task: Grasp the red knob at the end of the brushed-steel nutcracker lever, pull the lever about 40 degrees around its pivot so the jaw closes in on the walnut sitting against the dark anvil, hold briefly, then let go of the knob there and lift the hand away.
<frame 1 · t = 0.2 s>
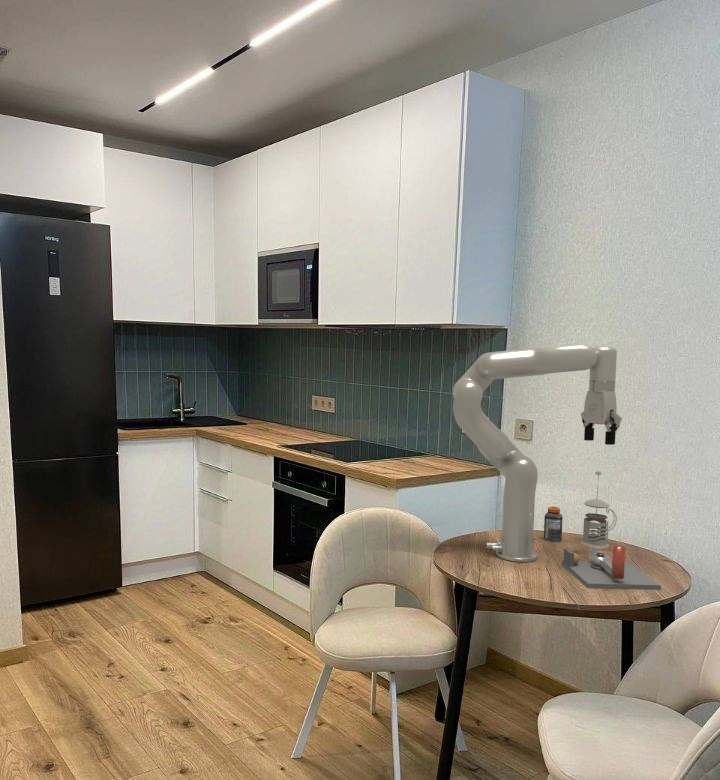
hand: (599, 442, 196), 37 cm above the table, tool pointing down, fingers open, 9 cm apart
pill bottle: (552, 540, 219), on the table
lever: (606, 553, 182), point 7 cm above the table, hinge at 0.0°
french press: (597, 544, 215), on the table
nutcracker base: (608, 576, 182), on the table
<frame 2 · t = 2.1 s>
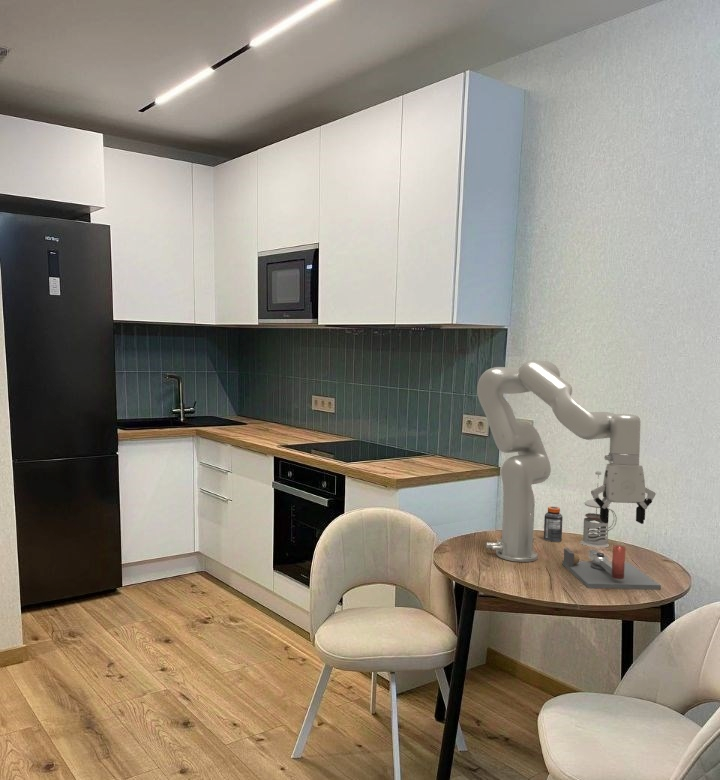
hand: (622, 522, 173), 18 cm above the table, tool pointing down, fingers open, 9 cm apart
nothing on the table moved.
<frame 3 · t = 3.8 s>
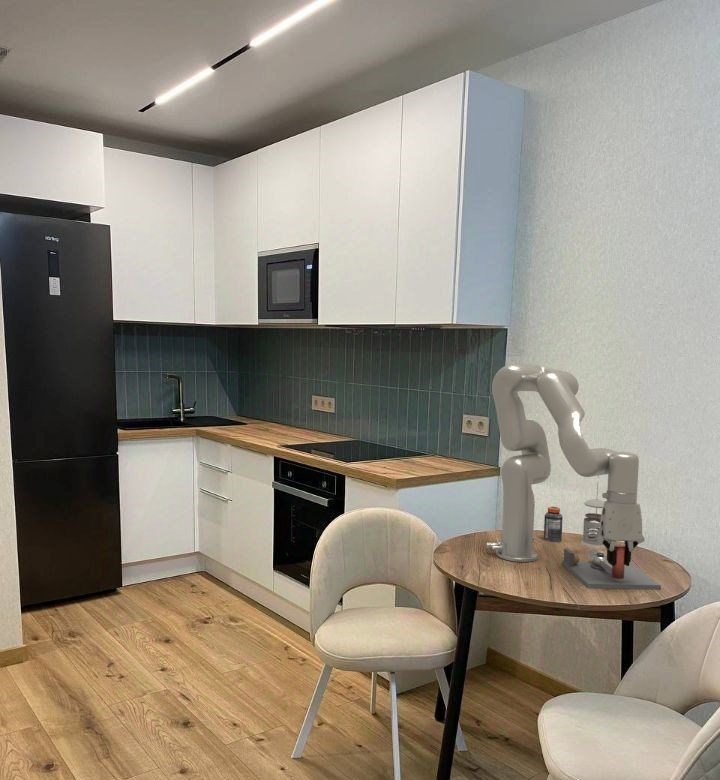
hand: (618, 563, 174), 6 cm above the table, tool pointing down, fingers closed on lever, 3 cm apart
lever: (606, 553, 182), point 7 cm above the table, hinge at 0.0°, touching gripper
everything else where it was.
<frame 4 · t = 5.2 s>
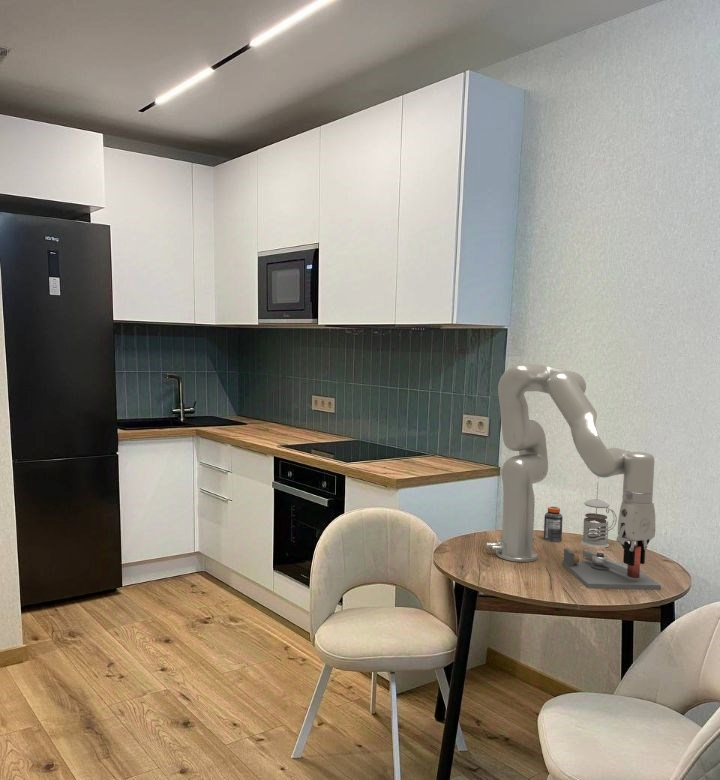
hand: (633, 562, 175), 6 cm above the table, tool pointing down, fingers closed on lever, 3 cm apart
lever: (611, 553, 182), point 7 cm above the table, hinge at 23.3°, touching gripper
everything else where it was.
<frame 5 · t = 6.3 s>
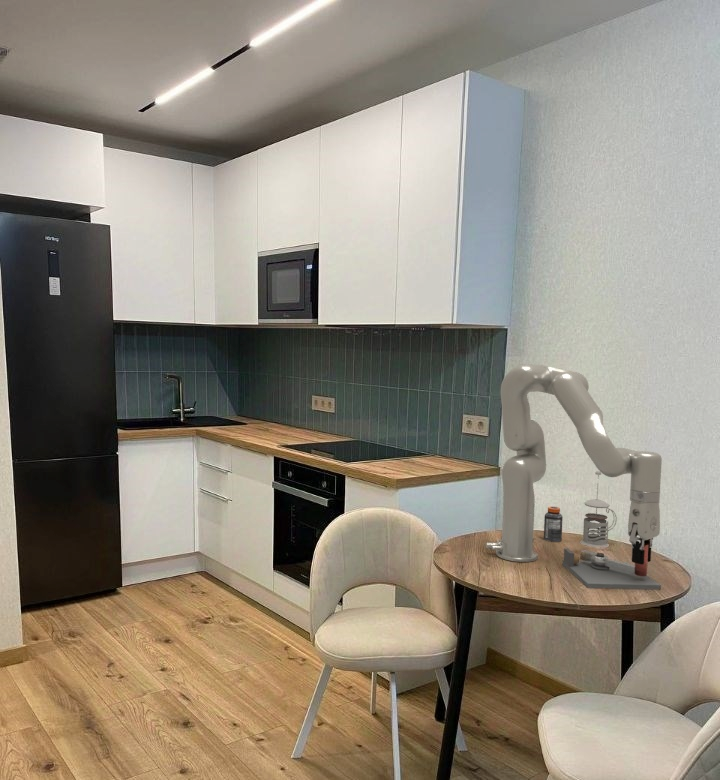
hand: (641, 561, 177), 6 cm above the table, tool pointing down, fingers closed on lever, 3 cm apart
lever: (613, 552, 183), point 7 cm above the table, hinge at 39.2°, touching gripper
everything else where it was.
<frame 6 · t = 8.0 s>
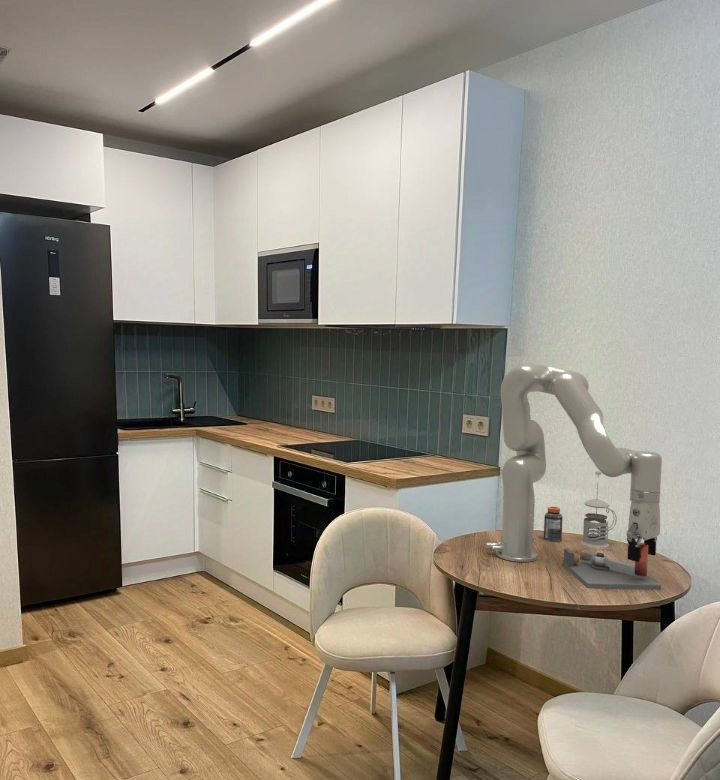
hand: (641, 557, 177), 7 cm above the table, tool pointing down, fingers open, 9 cm apart
lever: (613, 552, 183), point 7 cm above the table, hinge at 39.4°
everything else where it was.
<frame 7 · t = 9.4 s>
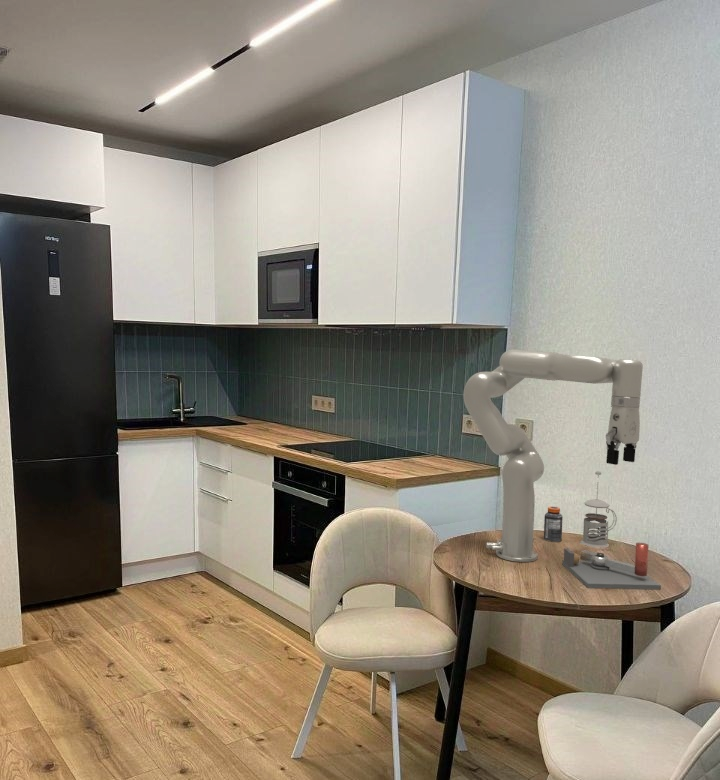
hand: (620, 462, 181), 33 cm above the table, tool pointing down, fingers open, 9 cm apart
nothing on the table moved.
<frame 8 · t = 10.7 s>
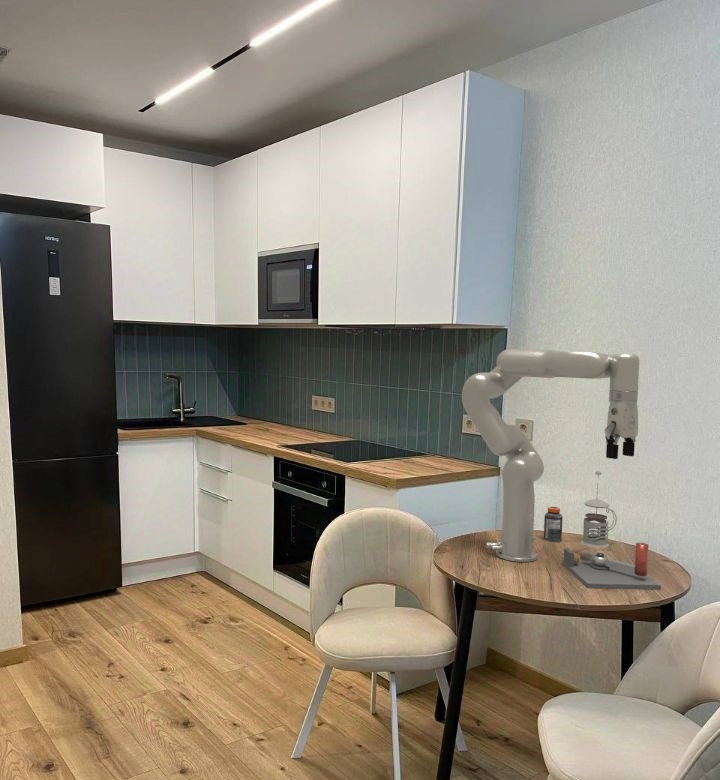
hand: (620, 457, 182), 34 cm above the table, tool pointing down, fingers open, 9 cm apart
nothing on the table moved.
at the end: lever at +39° (first picture: +0°); the gripper is holding nothing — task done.
